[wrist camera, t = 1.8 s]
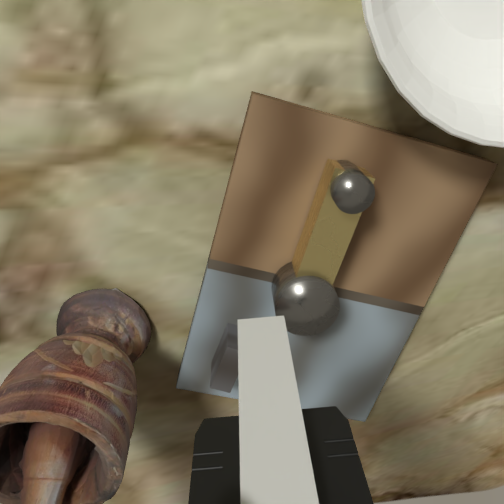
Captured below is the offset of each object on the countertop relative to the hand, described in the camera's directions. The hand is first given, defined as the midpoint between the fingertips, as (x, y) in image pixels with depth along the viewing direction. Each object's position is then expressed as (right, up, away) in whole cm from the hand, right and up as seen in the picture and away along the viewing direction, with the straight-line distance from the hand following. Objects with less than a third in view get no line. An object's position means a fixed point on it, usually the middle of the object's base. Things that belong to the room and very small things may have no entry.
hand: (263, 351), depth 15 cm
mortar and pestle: (-12, -4, +22) cm, 25 cm away
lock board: (+5, +1, +20) cm, 20 cm away
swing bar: (+4, +4, +16) cm, 17 cm away
